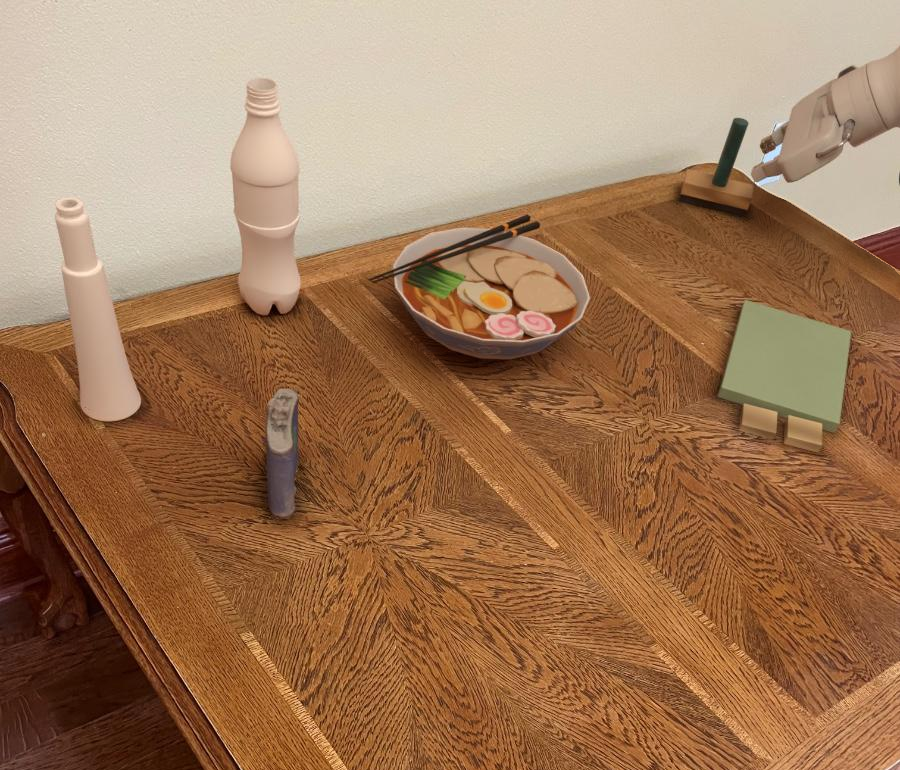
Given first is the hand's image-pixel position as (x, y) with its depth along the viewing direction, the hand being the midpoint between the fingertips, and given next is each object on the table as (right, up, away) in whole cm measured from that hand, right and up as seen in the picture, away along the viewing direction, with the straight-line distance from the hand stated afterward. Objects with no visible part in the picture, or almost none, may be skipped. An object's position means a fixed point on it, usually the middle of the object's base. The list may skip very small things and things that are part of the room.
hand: (757, 161), depth 134 cm
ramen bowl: (-40, -31, -21) cm, 55 cm away
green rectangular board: (-3, -34, -18) cm, 38 cm away
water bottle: (-65, -27, -22) cm, 74 cm away
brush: (-5, -3, +6) cm, 8 cm away
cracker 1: (-8, -42, -25) cm, 50 cm away
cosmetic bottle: (-79, -42, -36) cm, 97 cm away
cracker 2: (-4, -44, -26) cm, 51 cm away
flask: (-61, -52, -40) cm, 89 cm away
